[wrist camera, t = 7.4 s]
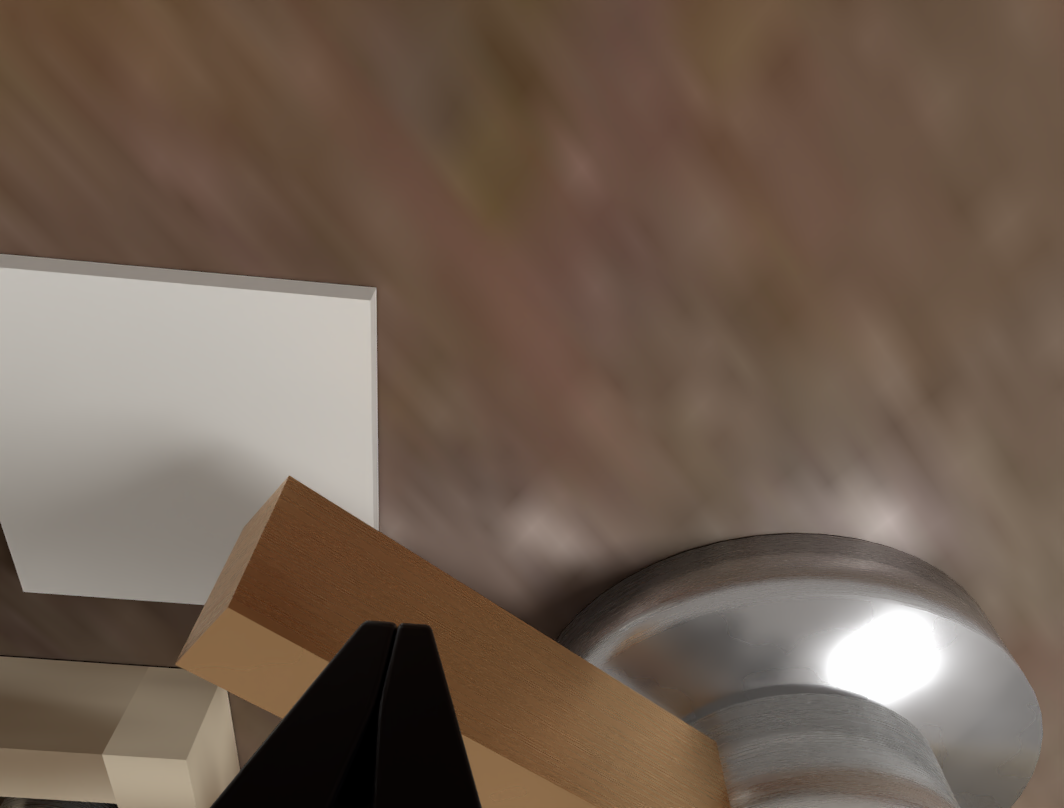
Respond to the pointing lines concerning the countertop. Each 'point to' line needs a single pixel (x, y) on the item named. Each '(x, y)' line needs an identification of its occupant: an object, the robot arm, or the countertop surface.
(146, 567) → the white square plate
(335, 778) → the robot arm
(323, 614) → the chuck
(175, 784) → the socket
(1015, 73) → the countertop surface
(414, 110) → the countertop surface
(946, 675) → the base
